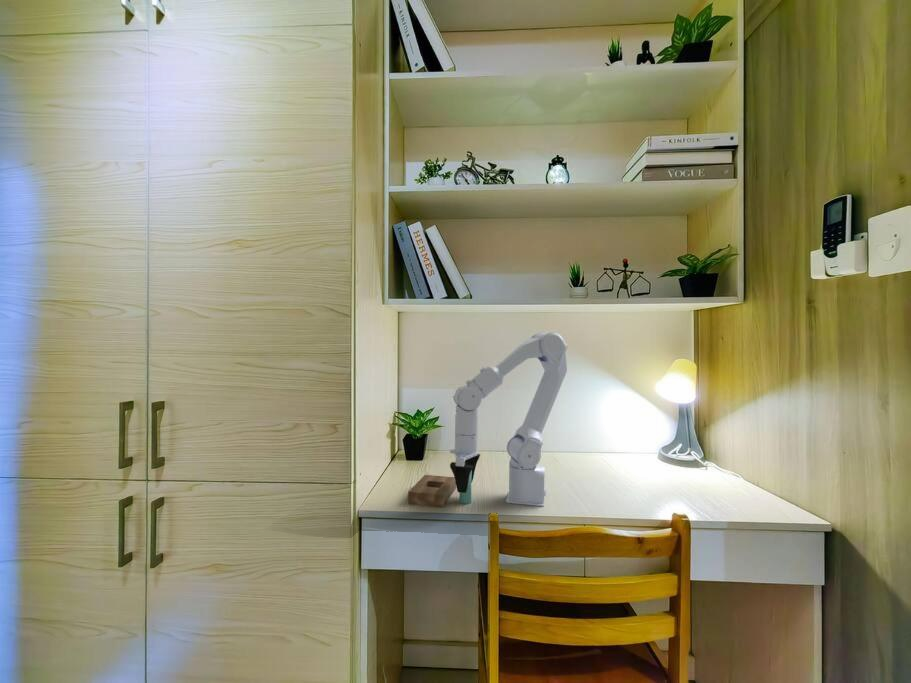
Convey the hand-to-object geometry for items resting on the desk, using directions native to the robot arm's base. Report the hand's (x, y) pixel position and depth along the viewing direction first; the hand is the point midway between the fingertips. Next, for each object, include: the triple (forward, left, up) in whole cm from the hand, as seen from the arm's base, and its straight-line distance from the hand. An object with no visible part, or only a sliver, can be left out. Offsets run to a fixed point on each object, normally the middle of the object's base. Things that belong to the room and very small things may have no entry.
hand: (465, 487), depth 107 cm
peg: (0, 0, -4) cm, 4 cm away
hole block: (+9, -2, -4) cm, 10 cm away
